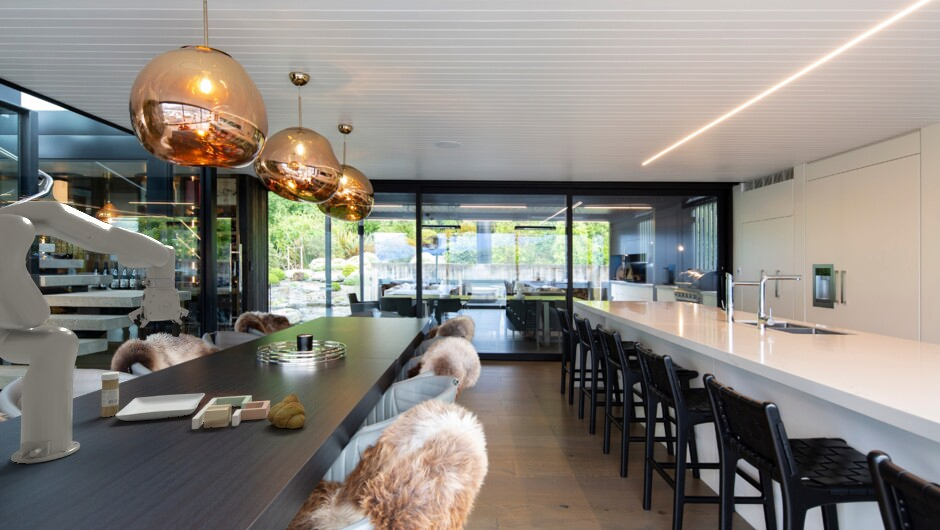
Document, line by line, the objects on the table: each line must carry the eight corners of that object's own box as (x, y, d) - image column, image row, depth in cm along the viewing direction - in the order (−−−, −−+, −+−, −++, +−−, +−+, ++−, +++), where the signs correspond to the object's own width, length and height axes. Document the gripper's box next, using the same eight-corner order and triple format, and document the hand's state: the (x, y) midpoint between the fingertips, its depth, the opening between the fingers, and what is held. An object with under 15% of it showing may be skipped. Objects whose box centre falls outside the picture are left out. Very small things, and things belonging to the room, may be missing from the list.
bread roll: (312, 427, 138) (312, 400, 138) (278, 434, 131) (279, 405, 131) (295, 417, 147) (296, 391, 147) (263, 423, 141) (264, 397, 141)
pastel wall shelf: (263, 423, 141) (263, 413, 141) (191, 429, 135) (192, 418, 136) (273, 402, 164) (273, 393, 164) (213, 406, 159) (213, 397, 159)
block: (226, 426, 138) (227, 409, 139) (204, 428, 137) (204, 411, 137) (231, 420, 144) (231, 404, 144) (209, 422, 143) (209, 405, 143)
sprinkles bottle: (118, 412, 152) (119, 370, 153) (119, 415, 149) (120, 373, 149) (100, 415, 149) (101, 372, 150) (100, 418, 146) (101, 374, 146)
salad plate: (195, 418, 147) (195, 407, 147) (113, 426, 139) (113, 414, 140) (205, 401, 167) (205, 391, 167) (134, 407, 159) (134, 397, 159)
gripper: (136, 284, 140) (134, 342, 139) (194, 284, 155) (194, 336, 154) (123, 284, 144) (122, 340, 143) (182, 284, 159) (181, 335, 158)
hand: (159, 338), depth 149 cm, fingers open, 9 cm apart
